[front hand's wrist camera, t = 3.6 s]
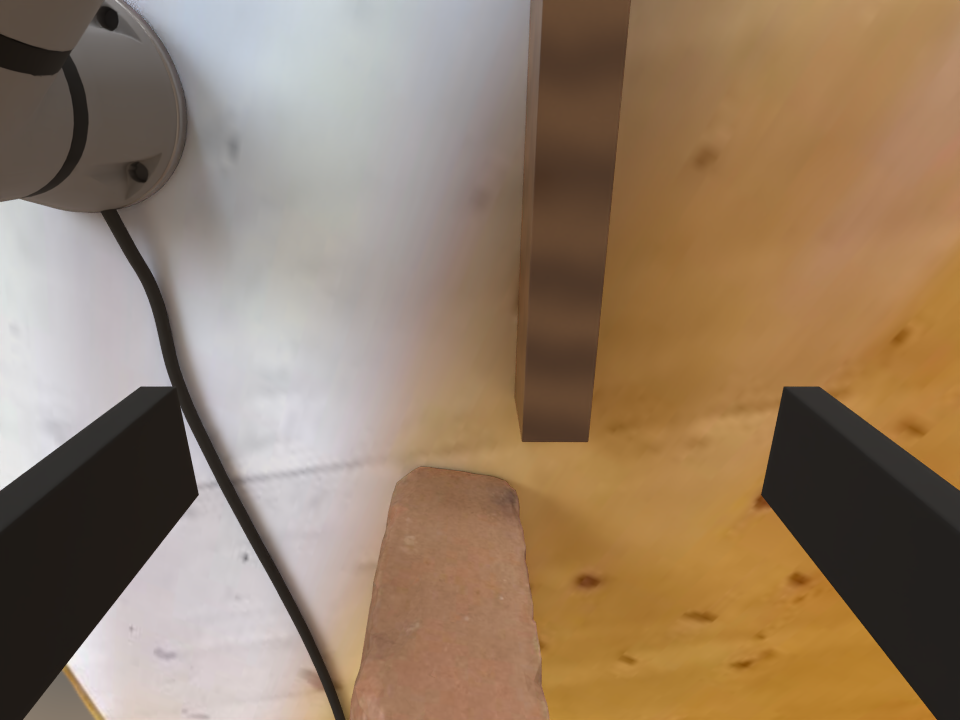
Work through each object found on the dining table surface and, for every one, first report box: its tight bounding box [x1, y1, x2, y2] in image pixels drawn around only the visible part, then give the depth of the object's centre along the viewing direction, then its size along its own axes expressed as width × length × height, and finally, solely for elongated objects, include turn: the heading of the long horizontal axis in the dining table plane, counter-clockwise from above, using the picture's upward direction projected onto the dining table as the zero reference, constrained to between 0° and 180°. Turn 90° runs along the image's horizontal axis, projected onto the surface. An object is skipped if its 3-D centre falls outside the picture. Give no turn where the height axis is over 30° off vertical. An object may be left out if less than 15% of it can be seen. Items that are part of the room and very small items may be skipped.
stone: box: [350, 467, 550, 720], centre depth 44 cm, size 22×11×28 cm, turn 169°
